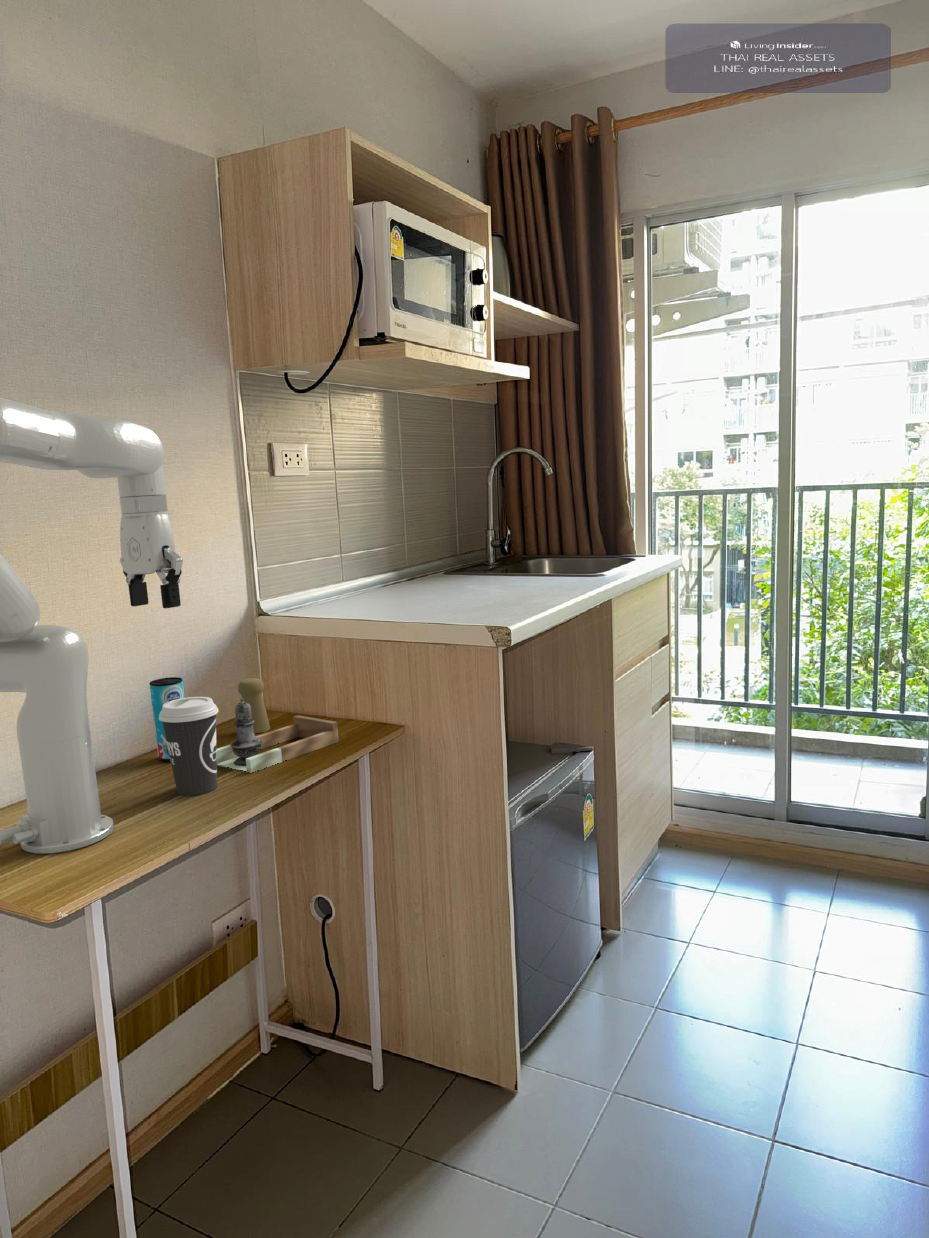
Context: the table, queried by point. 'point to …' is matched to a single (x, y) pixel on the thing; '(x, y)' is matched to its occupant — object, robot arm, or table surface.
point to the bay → (309, 728)
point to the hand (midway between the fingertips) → (155, 606)
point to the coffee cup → (191, 743)
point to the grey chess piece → (244, 735)
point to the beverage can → (160, 695)
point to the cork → (255, 702)
